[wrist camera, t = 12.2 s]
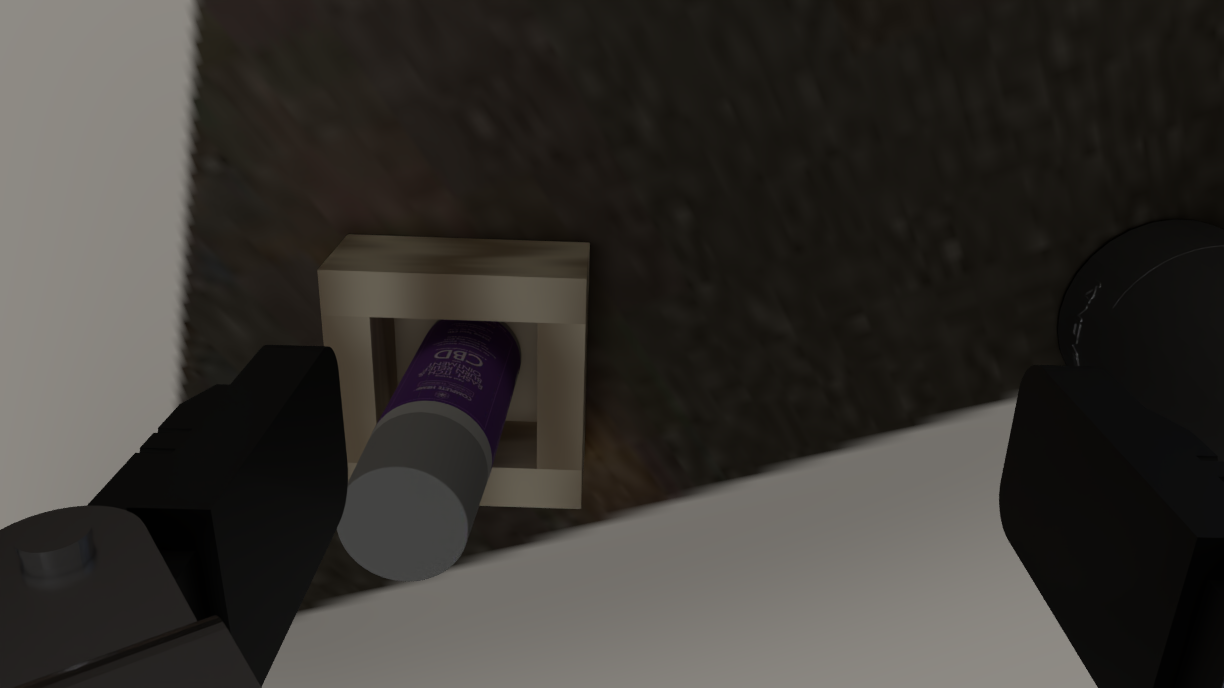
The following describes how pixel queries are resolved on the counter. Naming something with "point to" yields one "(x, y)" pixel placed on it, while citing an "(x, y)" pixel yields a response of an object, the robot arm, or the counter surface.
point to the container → (432, 452)
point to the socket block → (479, 291)
